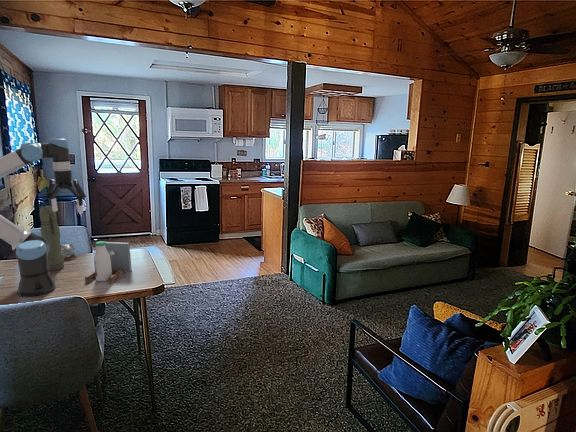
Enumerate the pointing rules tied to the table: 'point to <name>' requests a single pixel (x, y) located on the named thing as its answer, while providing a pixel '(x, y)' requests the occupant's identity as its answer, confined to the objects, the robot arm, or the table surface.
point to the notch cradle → (115, 275)
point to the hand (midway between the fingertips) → (67, 211)
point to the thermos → (51, 237)
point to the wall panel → (119, 255)
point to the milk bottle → (102, 262)
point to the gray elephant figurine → (68, 250)
